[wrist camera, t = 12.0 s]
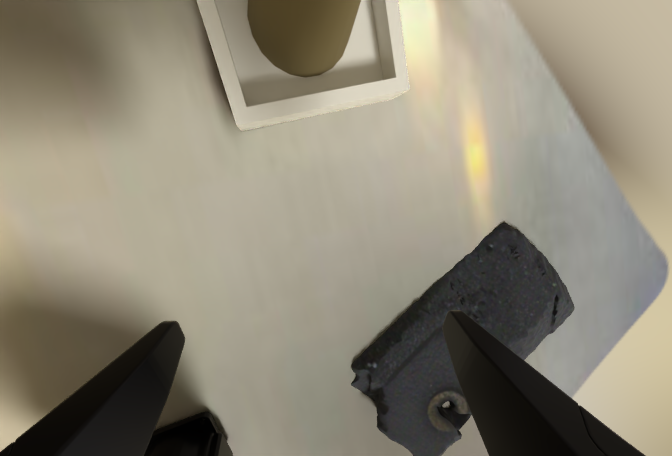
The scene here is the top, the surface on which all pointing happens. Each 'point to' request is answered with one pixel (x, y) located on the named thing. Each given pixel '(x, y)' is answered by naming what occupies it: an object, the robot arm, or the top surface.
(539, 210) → the top surface
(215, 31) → the tray
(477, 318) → the dark slate chunk
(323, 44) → the olive brown pawn
